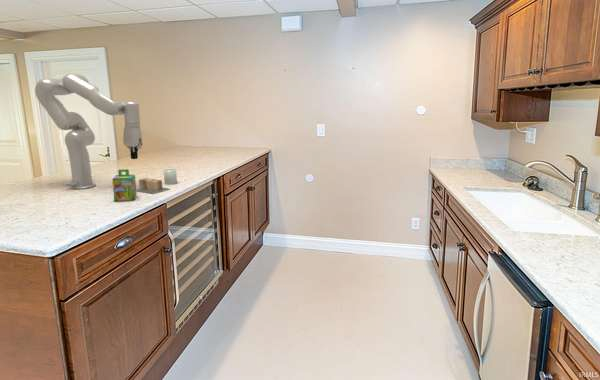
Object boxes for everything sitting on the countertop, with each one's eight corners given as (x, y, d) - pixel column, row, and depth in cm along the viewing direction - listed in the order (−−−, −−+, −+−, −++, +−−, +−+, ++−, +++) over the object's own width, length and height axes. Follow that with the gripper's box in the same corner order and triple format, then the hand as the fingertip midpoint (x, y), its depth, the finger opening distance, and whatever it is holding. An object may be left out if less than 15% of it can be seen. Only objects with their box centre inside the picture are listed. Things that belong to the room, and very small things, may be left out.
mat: (153, 194, 196) (153, 193, 196) (134, 191, 202) (134, 190, 202) (170, 189, 206) (170, 188, 206) (151, 186, 212) (151, 185, 212)
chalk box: (114, 202, 181) (110, 172, 177) (117, 197, 189) (114, 168, 186) (134, 200, 183) (131, 171, 180) (137, 196, 192) (134, 167, 188)
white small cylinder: (170, 185, 216) (169, 171, 214) (162, 183, 219) (160, 170, 217) (179, 182, 222) (178, 169, 220) (170, 181, 225) (169, 168, 223)
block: (139, 188, 206) (155, 191, 201) (138, 179, 205) (154, 182, 200) (146, 186, 210) (162, 189, 205) (146, 178, 209) (161, 180, 204)
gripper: (117, 124, 201) (119, 157, 206) (136, 126, 195) (138, 161, 199) (128, 123, 208) (130, 156, 212) (148, 126, 201) (149, 159, 206)
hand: (134, 158), depth 206 cm, fingers closed
